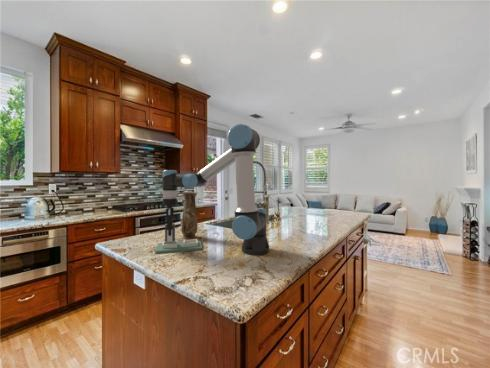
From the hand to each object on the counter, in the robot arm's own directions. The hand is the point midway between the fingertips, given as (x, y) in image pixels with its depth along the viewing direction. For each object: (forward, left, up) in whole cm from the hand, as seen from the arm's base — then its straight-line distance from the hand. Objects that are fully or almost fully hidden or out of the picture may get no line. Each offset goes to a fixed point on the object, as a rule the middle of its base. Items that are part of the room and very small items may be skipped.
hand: (170, 239), depth 128 cm
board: (-5, 0, -5) cm, 7 cm away
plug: (0, 0, 0) cm, 0 cm away
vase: (-11, -20, -5) cm, 23 cm away
